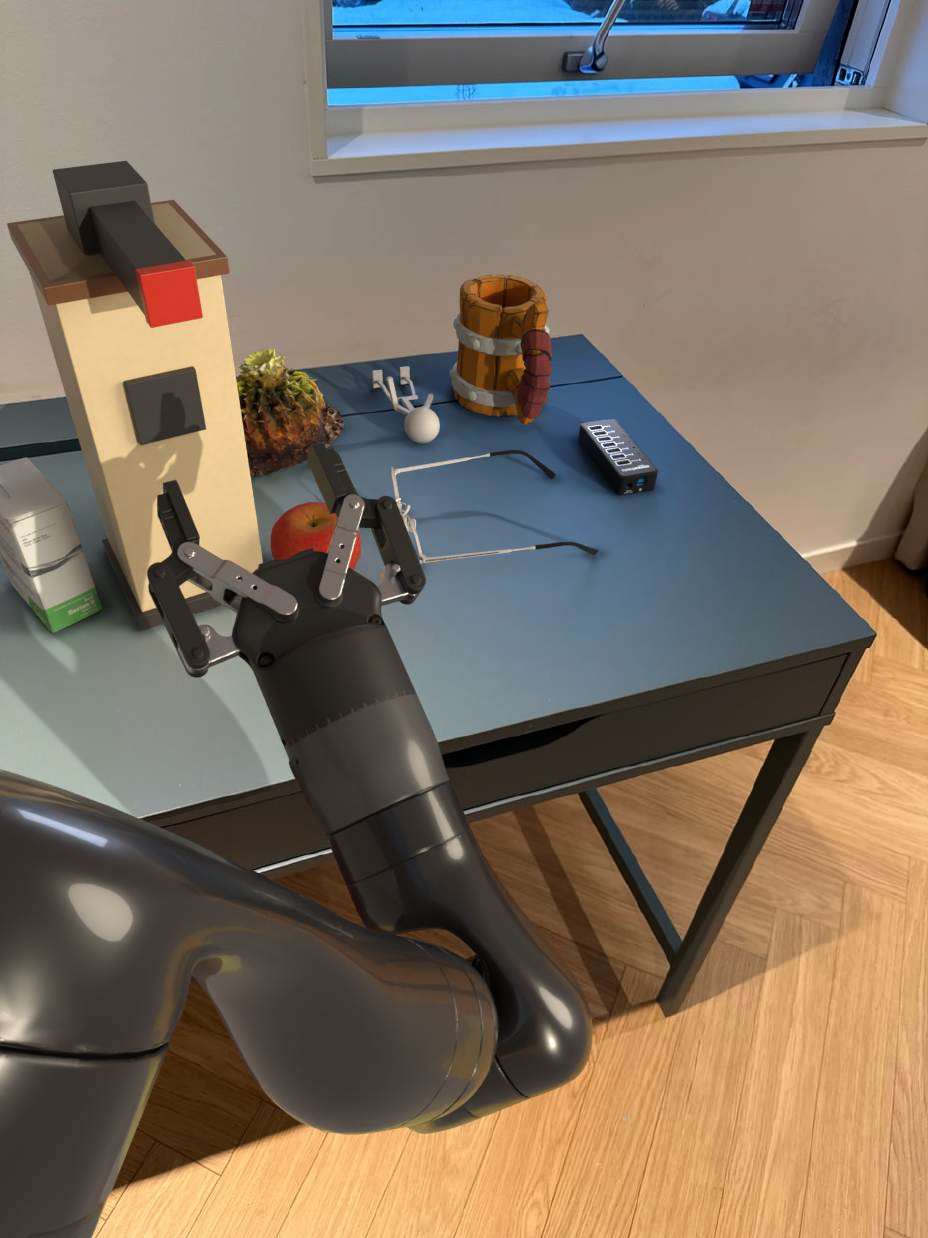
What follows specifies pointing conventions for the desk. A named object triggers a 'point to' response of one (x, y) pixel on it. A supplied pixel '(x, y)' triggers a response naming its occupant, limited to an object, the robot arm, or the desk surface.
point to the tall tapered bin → (148, 402)
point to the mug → (502, 347)
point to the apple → (307, 532)
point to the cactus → (281, 413)
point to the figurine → (410, 408)
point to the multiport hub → (617, 457)
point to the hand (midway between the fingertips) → (243, 467)
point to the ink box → (43, 548)
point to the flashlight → (128, 239)
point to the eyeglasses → (428, 559)
